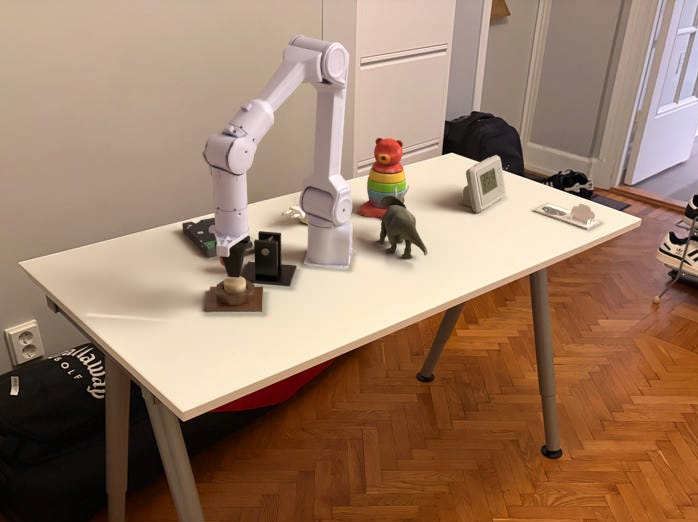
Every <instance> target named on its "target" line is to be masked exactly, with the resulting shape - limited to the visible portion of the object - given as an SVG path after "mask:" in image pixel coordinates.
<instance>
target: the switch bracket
mask: <svg viewBox="0 0 698 522" xmlns="http://www.w3.org/2000/svg"><path fill="white" fill-rule="evenodd" d="M257 235H258V239H254V241H253V247H254V254H253V255H254V261H247V263H246V265H245V267H244V268H243V270H242V272H241V275H240V277H243V278H245V280H248V281H250V282H251V283H252V284H257V285H267V286H268V285H269V286H283V287H291V285H292V282H293V279H294V277H295V275H296V272H297V265H296V264H295V265H294V264H285V263H282V262H283V260H282V255H283V254H282V232H276V231H265V230H259V231H258V233H257ZM271 236H273V237H274V239H275V241H268V240H262V239H265V238H268V237H271Z"/></svg>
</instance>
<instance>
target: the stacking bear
mask: <svg viewBox="0 0 698 522" xmlns="http://www.w3.org/2000/svg"><path fill="white" fill-rule="evenodd" d="M374 141H375V147H374V149H373V156H374V159H375V162H374V163H373V164H372V165H371V167H370V170H369V172H368V177H367V180H366V193H367V196H368V200H367V201H365V202H363V203H362V204H361V205H360V206H359V208H358V211H357V212H358V214H359V215H361V216H364V217H376V218H380V219H382V217H383V215H384V214H385V212H386V211H387V209H388V208H389V207H387V208H385V207H382V206H381V204H380V201H381V199H382V197H384V196H388V195H390V196H392V195H393V196H394V189H395V187H396V185H397V184H398V186H397V196H398V197H400V196H401V194H402V193H403V192H404V191H405V190H406V189H407V179H406V173H405V169H404V166H403V165H402V163H401V160H402V157H403V146H404V142H403V141H402V140H400V139H397V140H396V139H394V138H382V137H377V138H375V140H374Z"/></svg>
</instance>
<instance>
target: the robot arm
mask: <svg viewBox="0 0 698 522" xmlns="http://www.w3.org/2000/svg"><path fill="white" fill-rule="evenodd" d="M349 66H350V54H349V52H348V51H347V50H346V48H345V47H344V46H343V44H341V43H340V42H337V41H333V42H332V41H327V40H323V39H317V38H314V37H309V36H305V35H303V34H296V35H294V36H293V37H292V38H290V40H289V42H288V44H286V46H285V47H284V48H283V50H282V61H281V63H280V64H279V66H278V67H277V69H276V71H275V72H274V73H273V75H272V76H271V78H270V79H269V81H268V82H267V84H266V85H265V87H264V89H263V90H262V91H261V92H260V94H259V96H258V97H257V98H255V99H252V98H251V99H247V100H246V101H244V102H243V103H241V105H240V108H239V110H238V111H237V112H236V113H235V115H234V116H233V117H232V118H231V120H230V121H229V122H228V123H227V124H226V125H225V126H224V128H223V129H222V131H221V132H217V133H214V134H213V135H212V134H211V136H209V138H208V139H207V140H206V141H205V144H204V150H203V151H202V152H201V154H202V159H203V161H204V163H205V164H206V165H207V166H208V172H209V175H210V176H211V182H212V183H211V184H212V185H211V186H212V198H213V212H214V218H215V225H211V226H210V227H209V232H210V233H214V234H215V237H216V241H215V249H216V250H217V256H216V257H220V256H221V258H222V260H223V262H224V265H225V267H224V268H225V272H226V275H227V277H236V278H239V277H241V275H242V272H243V267H244V259H245V257H244V255H245V251H246V248H247V245H248V243H249V241H250V240H251V236H250V234H251V233H250V231H251V230H250V226H249V210H248V209H249V208H248V207H249V206H248V188H247V186H248V185H247V172H248V170H249V169H250V168H251V167H252V165H253V162H254V156H255V154H256V152H257V149H258V147H257V146H258V145H259V144H260V142H261V141H262V140H263V138H264V137H265V135H266V134H268V132H269V131H270V129H271V128H272V127H273V125H274V124H275V116H274V113H275V112H276V111H277V110H278V109H279V107H281V106H282V104H283V103H284V102H285V101H286V100H287V99H289V97H291V95H292V94H293V92H295V90H297V88H298V87H299V86H300V85H302V84H311V85H312V86H313V88H314V89H315V90H316V91H317V92H316V113H315V127H314V128H315V129H314V130H315V131H314V149H313V150H314V151H313V164H312V165H313V169H312V173H311V174H309V175H308V176H306V177H305V178H304V179H303V183H302V191H301V192H300V195H299V200H298V204H300V208H301V210H302V211H303V212H304V213H305V218H306V219H308V224H307V251H306V255H305V256H304V259H303V265H307V266H319V267H330V268H340V269H341V268H342V269H343V268H344V269H349V267H350V263H351V258H352V257H353V252H354V248H353V237H354V236H353V235H354V234H353V233H354V224H353V223H354V222H353V221H348V220H349V219H350V217H351V215H352V211H353V200H352V197H351V191H352V188H351V185H349V182H347V180H346V179H345V178H344V177H343V176H342V174H341V170H342V169H341V168H342V167H341V166H342V155H343V142H344V141H343V140H344V127H345V115H346V101H347V89H348V78H349V68H350V67H349Z"/></svg>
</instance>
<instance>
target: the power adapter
mask: <svg viewBox="0 0 698 522" xmlns="http://www.w3.org/2000/svg"><path fill="white" fill-rule="evenodd" d="M289 214H290V216H289V217H288V218H289V219H290V220H293V219H295V218H298V219H299V221H300V222H301V223H303V224H306V225H308V219H306V218H305V213H304V212H303V211H302V210H301V208H300V204H299V203H298V204H296V205H293V206H289V208H288V210H287V211H283V212H282V213H281V216H286V215H289Z"/></svg>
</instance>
